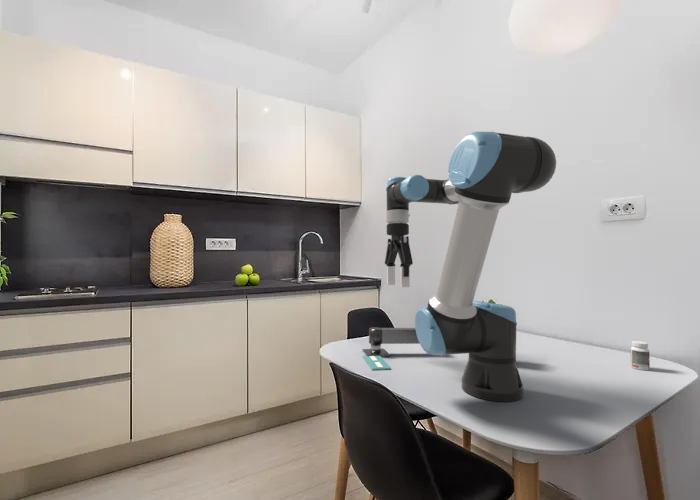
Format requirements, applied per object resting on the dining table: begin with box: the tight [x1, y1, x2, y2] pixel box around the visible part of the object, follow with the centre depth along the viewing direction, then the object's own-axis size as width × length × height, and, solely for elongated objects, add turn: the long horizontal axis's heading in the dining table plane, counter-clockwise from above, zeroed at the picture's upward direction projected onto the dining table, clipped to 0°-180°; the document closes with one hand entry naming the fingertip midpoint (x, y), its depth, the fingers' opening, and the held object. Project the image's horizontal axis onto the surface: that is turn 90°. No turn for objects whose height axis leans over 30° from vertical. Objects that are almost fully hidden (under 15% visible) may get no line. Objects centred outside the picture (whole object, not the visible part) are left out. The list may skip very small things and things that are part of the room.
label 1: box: [362, 355, 385, 364], centre depth 121 cm, size 7×6×1 cm
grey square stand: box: [362, 344, 391, 358], centre depth 129 cm, size 8×8×4 cm
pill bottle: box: [630, 340, 651, 371], centre depth 116 cm, size 5×5×8 cm
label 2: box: [366, 360, 392, 371], centre depth 114 cm, size 7×6×1 cm
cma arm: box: [368, 326, 420, 345], centre depth 129 cm, size 24×5×5 cm, turn 94°
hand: (397, 286), depth 122 cm, fingers open, 13 cm apart
